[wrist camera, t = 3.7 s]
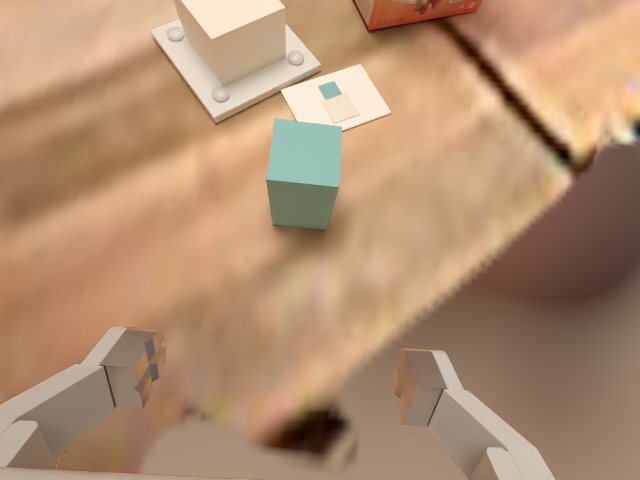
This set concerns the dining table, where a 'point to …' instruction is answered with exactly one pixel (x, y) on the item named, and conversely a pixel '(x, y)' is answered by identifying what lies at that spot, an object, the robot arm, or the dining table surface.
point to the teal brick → (303, 173)
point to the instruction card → (336, 99)
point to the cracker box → (410, 10)
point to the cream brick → (234, 34)
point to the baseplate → (242, 91)
